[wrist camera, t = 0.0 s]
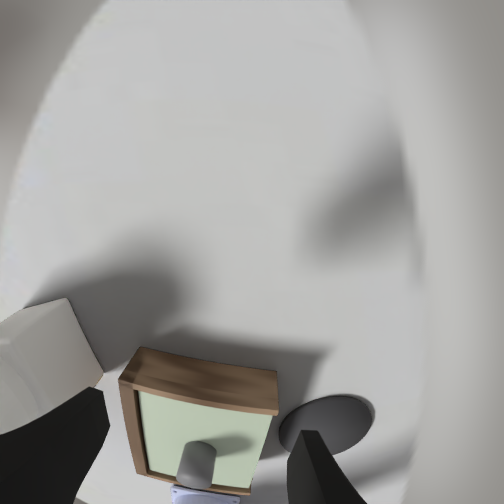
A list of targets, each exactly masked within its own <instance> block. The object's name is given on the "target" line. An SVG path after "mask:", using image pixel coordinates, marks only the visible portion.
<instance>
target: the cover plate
mask: <svg viewBox="0 0 504 504" xmlns="http://www.w3.org/2000/svg"><path fill="white" fill-rule="evenodd" d="M138 392H139V401H140V410H141V418H142V426H143V433H144V440H145V446H146V452H147V458H148V463H149V469H150V470H152V471H156V472H159V473H163V474H167V475H171V476H176V479H177V481H178V482H179V483H181V484H182V485H184V486H187V487H190V488H194V489H207V488H209V487H211V485H212V484H218V485H225V486H233V487H241V488H249V486H250V484H251V481H252V478H253V475H254V472H255V469H256V466H257V463H258V460H259V457H260V454H261V451H262V448H263V445H264V442H265V439H266V436H267V432H268V429H269V426H270V423H271V419H272V416H273V415H263V414H254V413H246V412H239V411H232V410H225V409H219V408H213V407H207V406H202V405H197V404H192V403H187V402H182V401H178V400H173V399H169V398H165V397H161V396H157V395H153V394H149V393H145V392H142V391H138Z"/></svg>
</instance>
